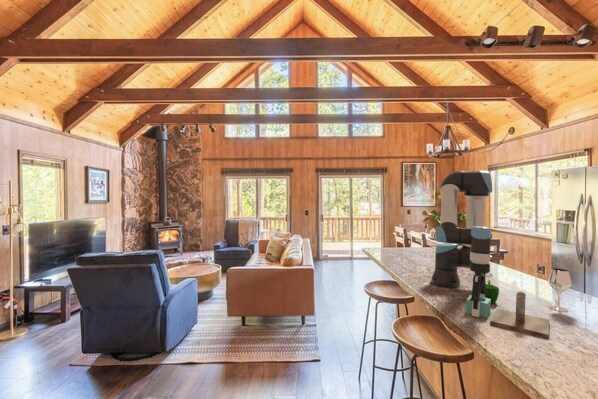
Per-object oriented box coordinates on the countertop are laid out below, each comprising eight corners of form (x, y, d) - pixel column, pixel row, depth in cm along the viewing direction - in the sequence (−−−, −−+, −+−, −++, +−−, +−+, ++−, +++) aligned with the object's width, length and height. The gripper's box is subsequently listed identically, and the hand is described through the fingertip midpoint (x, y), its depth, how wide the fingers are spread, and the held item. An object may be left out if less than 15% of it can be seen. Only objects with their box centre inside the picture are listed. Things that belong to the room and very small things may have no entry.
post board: (490, 324, 123) (491, 291, 123) (496, 311, 137) (497, 282, 136) (548, 338, 111) (549, 302, 111) (549, 323, 125) (550, 291, 125)
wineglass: (565, 313, 136) (566, 272, 136) (543, 307, 144) (544, 268, 143) (574, 310, 140) (575, 271, 140) (552, 304, 147) (553, 267, 147)
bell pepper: (493, 305, 144) (493, 284, 144) (475, 300, 151) (475, 280, 151) (502, 302, 149) (502, 282, 148) (484, 297, 156) (484, 278, 155)
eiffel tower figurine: (467, 275, 202) (468, 254, 202) (466, 272, 211) (466, 252, 211) (494, 278, 196) (495, 257, 196) (491, 274, 205) (492, 254, 205)
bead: (465, 313, 135) (466, 299, 134) (469, 308, 141) (470, 294, 141) (487, 318, 129) (487, 303, 129) (490, 312, 136) (490, 298, 136)
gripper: (485, 268, 123) (483, 323, 124) (494, 259, 141) (492, 307, 142) (464, 265, 128) (462, 317, 128) (475, 257, 146) (474, 303, 147)
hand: (478, 312), depth 135 cm, fingers open, 11 cm apart
